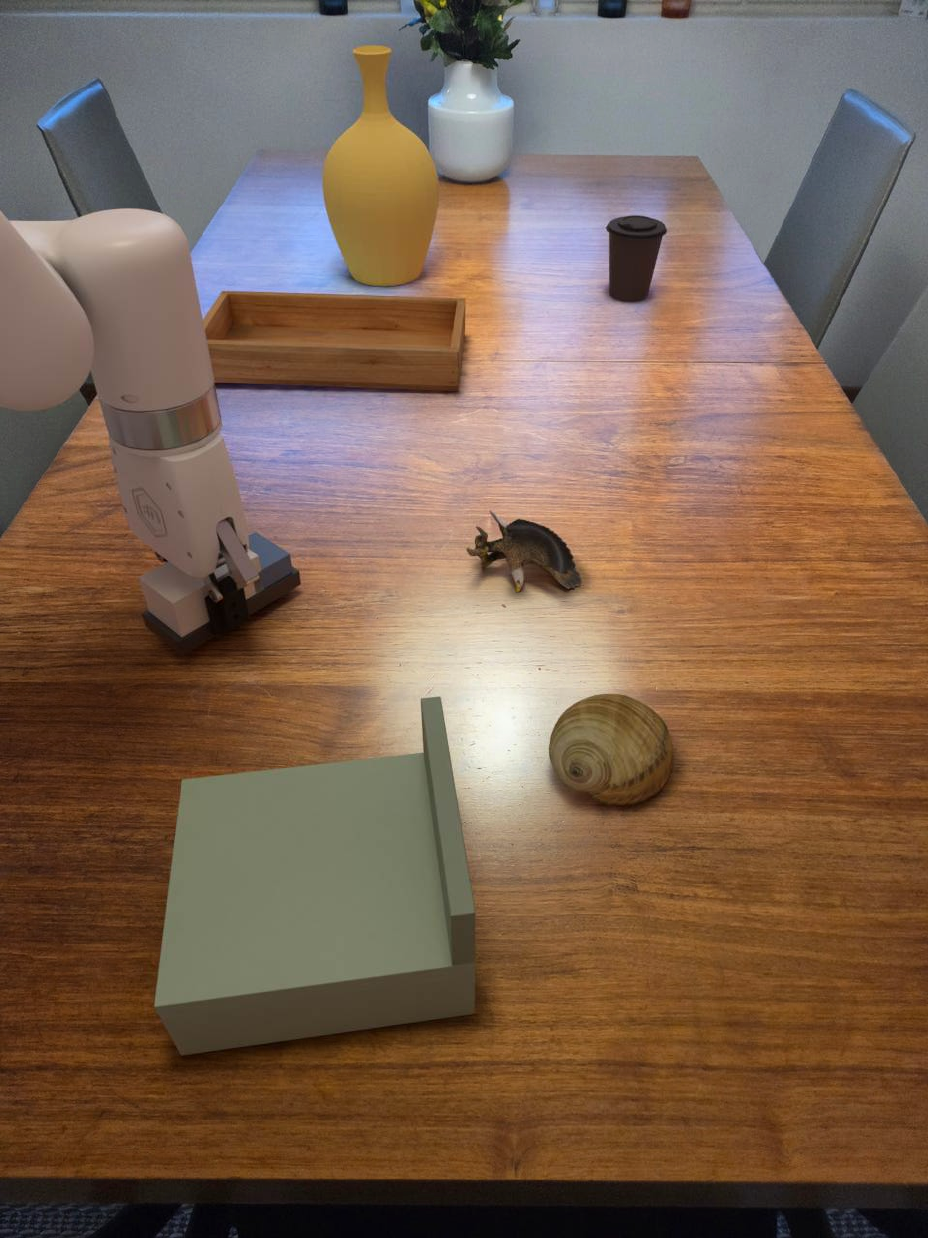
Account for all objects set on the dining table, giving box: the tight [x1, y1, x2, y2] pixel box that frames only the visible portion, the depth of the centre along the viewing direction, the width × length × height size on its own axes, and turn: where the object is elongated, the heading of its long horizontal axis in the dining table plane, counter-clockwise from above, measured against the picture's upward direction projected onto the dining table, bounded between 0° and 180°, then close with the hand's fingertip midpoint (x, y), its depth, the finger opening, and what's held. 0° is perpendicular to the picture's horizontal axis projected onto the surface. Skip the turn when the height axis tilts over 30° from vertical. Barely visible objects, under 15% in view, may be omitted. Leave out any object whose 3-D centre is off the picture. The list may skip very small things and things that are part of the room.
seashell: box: [548, 693, 674, 807], centre depth 60 cm, size 10×7×8 cm
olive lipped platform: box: [153, 695, 477, 1056], centre depth 49 cm, size 16×14×11 cm
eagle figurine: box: [465, 509, 582, 593], centre depth 75 cm, size 8×7×9 cm
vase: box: [321, 44, 440, 287], centre depth 119 cm, size 16×16×28 cm
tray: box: [202, 290, 466, 392], centre depth 106 cm, size 31×15×6 cm, turn 87°
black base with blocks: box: [138, 531, 302, 657], centre depth 71 cm, size 12×5×5 cm, turn 138°
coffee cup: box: [605, 214, 668, 303], centre depth 119 cm, size 8×8×10 cm
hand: (209, 609), depth 71 cm, fingers closed on black base with blocks, 5 cm apart
